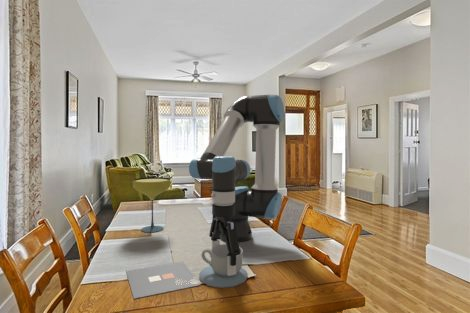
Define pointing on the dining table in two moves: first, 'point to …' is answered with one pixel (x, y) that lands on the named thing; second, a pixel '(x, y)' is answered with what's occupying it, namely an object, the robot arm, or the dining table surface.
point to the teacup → (221, 259)
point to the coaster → (222, 278)
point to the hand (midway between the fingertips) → (223, 266)
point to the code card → (159, 279)
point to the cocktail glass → (151, 194)
